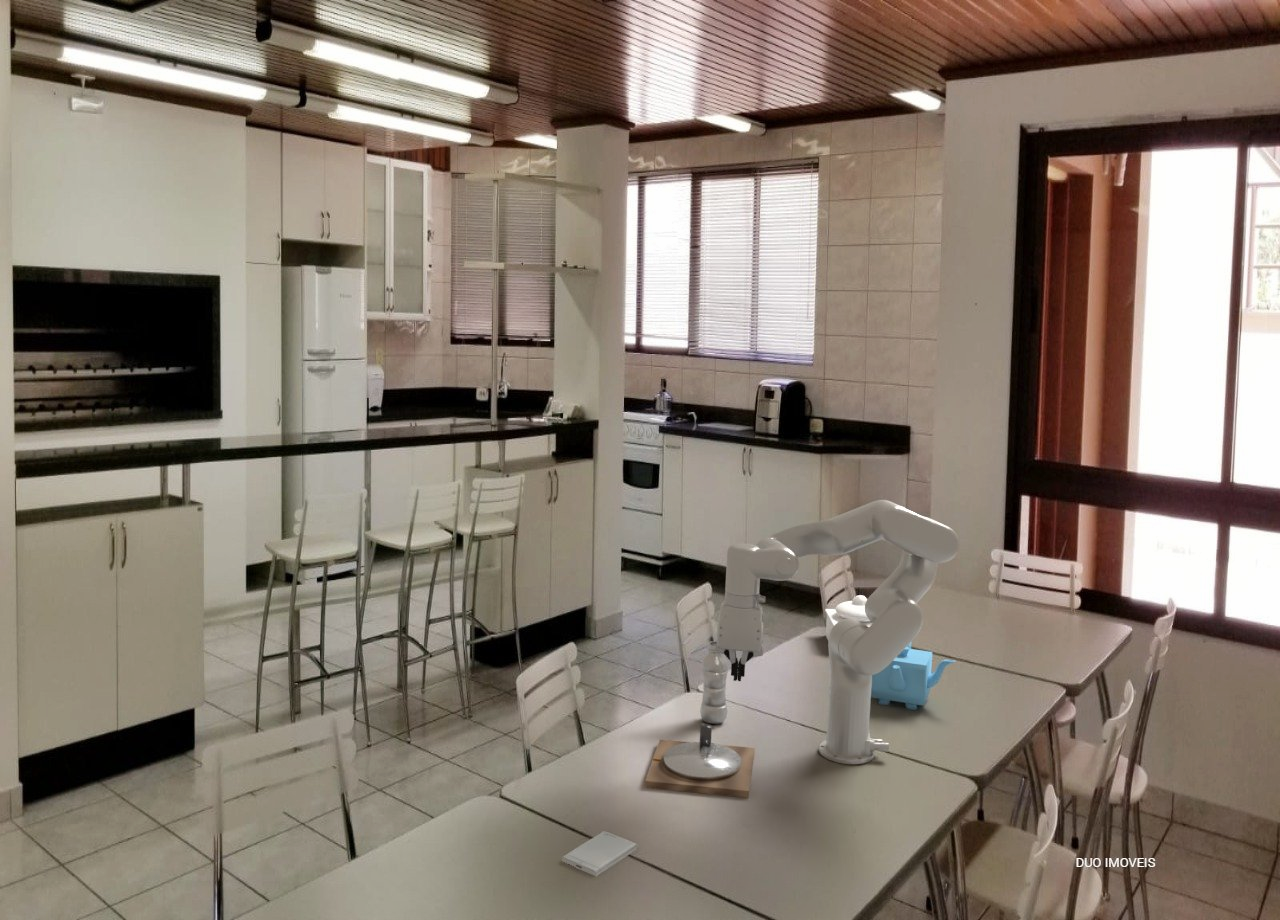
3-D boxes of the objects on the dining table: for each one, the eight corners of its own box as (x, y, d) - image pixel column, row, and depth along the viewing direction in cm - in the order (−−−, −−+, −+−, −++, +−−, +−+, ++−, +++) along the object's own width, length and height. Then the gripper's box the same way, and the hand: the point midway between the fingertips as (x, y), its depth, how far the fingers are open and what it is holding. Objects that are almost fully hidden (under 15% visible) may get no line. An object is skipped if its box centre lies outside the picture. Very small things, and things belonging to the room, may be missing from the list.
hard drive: (603, 830, 202) (561, 855, 192) (637, 843, 197) (596, 870, 187) (603, 838, 202) (561, 864, 192) (637, 851, 197) (596, 879, 188)
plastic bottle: (725, 728, 255) (728, 649, 252) (697, 725, 256) (700, 646, 254) (728, 718, 261) (731, 641, 258) (701, 715, 263) (704, 638, 260)
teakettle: (850, 693, 281) (853, 640, 279) (907, 684, 288) (911, 632, 286) (894, 719, 264) (897, 662, 262) (953, 709, 271) (957, 654, 269)
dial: (737, 783, 222) (738, 758, 221) (658, 776, 224) (659, 750, 224) (743, 750, 238) (744, 726, 237) (669, 743, 241) (669, 720, 240)
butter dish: (893, 656, 312) (896, 604, 310) (832, 654, 313) (835, 602, 310) (880, 637, 330) (883, 588, 327) (823, 636, 330) (826, 587, 328)
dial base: (754, 754, 241) (754, 746, 240) (748, 797, 219) (749, 789, 219) (659, 745, 244) (659, 738, 244) (645, 787, 223) (645, 779, 222)
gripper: (776, 597, 234) (771, 676, 237) (709, 592, 237) (705, 670, 239) (775, 607, 227) (770, 688, 230) (706, 601, 229) (702, 681, 232)
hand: (737, 678), depth 234 cm, fingers closed
